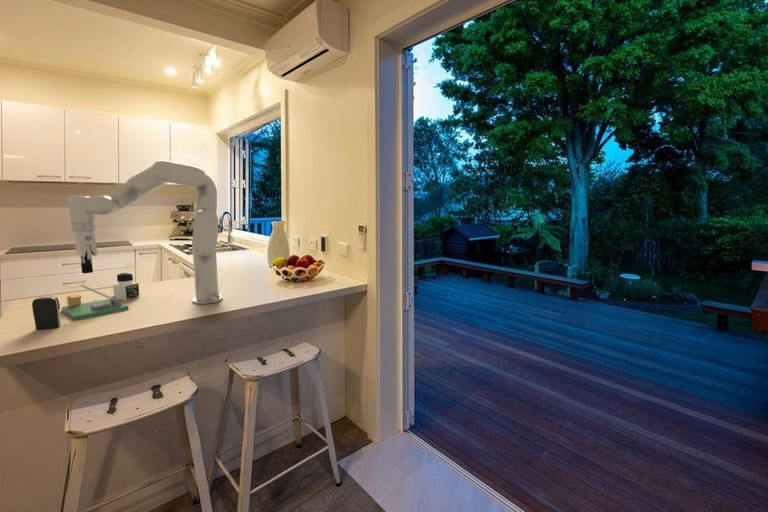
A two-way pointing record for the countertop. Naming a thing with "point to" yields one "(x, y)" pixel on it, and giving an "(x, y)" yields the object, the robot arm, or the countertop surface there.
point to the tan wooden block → (73, 300)
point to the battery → (46, 312)
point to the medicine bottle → (126, 287)
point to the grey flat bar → (98, 292)
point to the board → (95, 308)
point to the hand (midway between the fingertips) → (87, 272)
